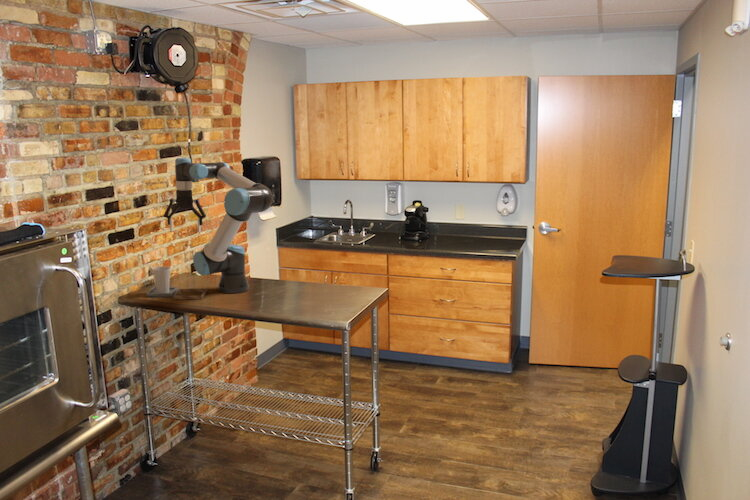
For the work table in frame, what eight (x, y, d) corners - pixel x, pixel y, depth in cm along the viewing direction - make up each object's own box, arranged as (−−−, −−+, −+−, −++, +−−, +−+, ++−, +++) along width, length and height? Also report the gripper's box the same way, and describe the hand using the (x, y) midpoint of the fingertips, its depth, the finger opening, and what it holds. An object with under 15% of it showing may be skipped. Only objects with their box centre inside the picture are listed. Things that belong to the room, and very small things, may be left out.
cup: (165, 294, 295) (164, 270, 292) (150, 293, 296) (149, 269, 294) (174, 290, 303) (173, 267, 300) (159, 289, 304) (158, 265, 302)
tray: (178, 290, 306) (177, 287, 306) (172, 297, 294) (172, 293, 294) (153, 290, 305) (153, 286, 305) (146, 297, 293) (146, 293, 293)
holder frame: (207, 291, 306) (207, 288, 305) (202, 299, 292) (202, 296, 292) (179, 291, 304) (179, 288, 304) (173, 299, 291) (172, 296, 291)
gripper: (211, 189, 308) (212, 230, 313) (160, 188, 306) (162, 229, 310) (208, 190, 301) (209, 233, 305) (156, 189, 299) (158, 232, 303)
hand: (185, 231), depth 308 cm, fingers open, 13 cm apart
